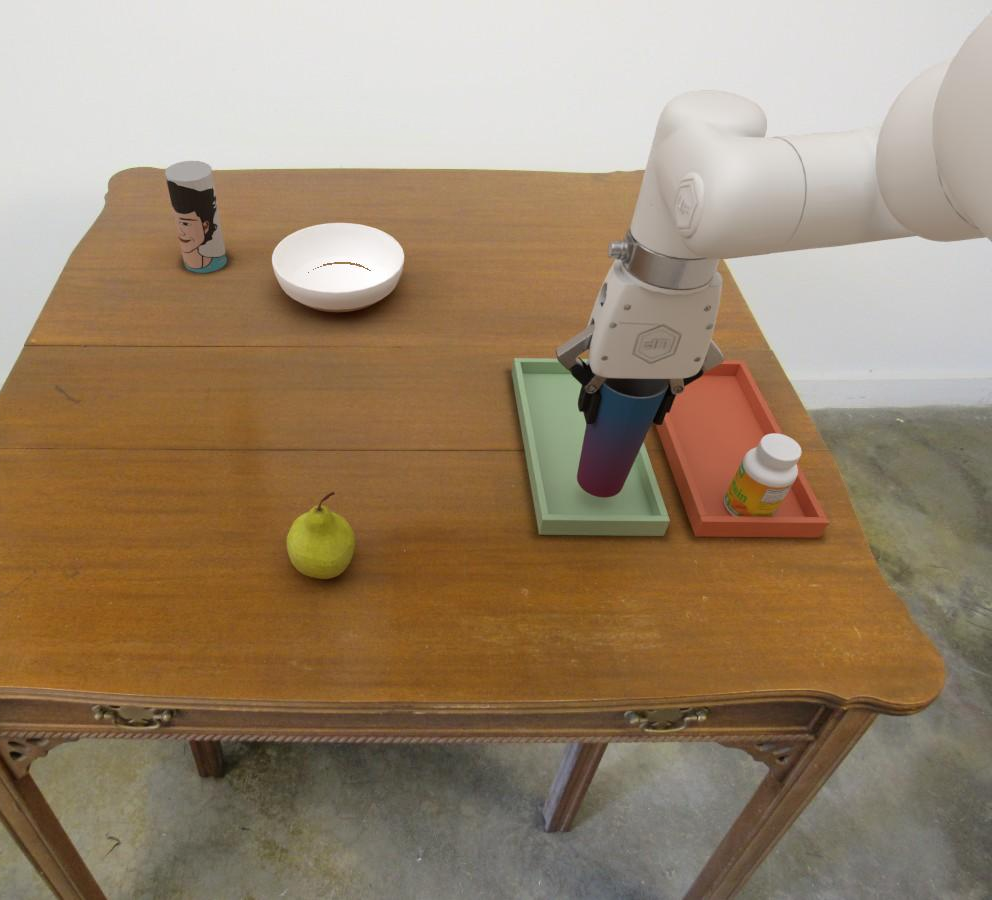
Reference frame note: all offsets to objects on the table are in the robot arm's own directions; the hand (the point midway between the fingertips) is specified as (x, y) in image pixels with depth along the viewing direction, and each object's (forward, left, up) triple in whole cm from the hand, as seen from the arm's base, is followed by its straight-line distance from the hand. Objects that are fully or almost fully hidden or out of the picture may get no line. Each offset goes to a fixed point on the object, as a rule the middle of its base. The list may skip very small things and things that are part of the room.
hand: (621, 413), depth 74 cm
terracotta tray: (+9, -17, -14) cm, 24 cm away
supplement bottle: (-1, -17, -13) cm, 22 cm away
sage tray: (+9, 0, -14) cm, 16 cm away
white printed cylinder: (+50, +53, -14) cm, 74 cm away
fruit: (-9, +30, -14) cm, 34 cm away
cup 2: (0, 0, -10) cm, 10 cm away
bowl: (+42, +31, -14) cm, 54 cm away
